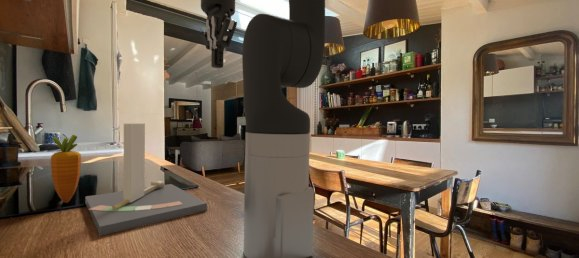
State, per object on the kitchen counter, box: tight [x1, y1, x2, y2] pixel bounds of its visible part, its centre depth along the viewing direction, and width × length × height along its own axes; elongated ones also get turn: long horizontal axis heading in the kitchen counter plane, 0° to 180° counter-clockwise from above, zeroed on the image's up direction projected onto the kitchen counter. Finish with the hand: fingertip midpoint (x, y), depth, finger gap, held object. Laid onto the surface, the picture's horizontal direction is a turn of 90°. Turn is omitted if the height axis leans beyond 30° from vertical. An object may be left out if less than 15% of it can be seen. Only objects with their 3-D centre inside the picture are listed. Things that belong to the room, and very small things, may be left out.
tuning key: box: [112, 123, 165, 209], centre depth 56 cm, size 18×3×16 cm, turn 2°
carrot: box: [50, 134, 82, 204], centre depth 55 cm, size 5×5×15 cm
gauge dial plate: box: [85, 183, 208, 237], centre depth 54 cm, size 21×18×2 cm
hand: (217, 67), depth 57 cm, fingers closed
